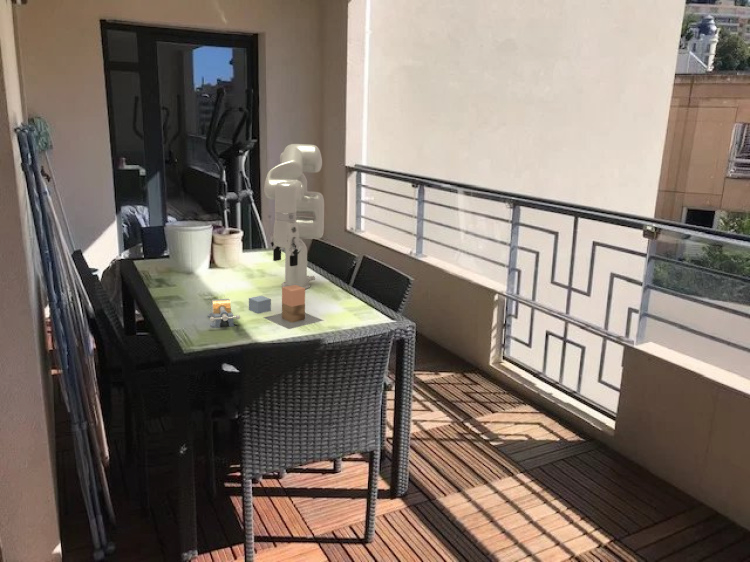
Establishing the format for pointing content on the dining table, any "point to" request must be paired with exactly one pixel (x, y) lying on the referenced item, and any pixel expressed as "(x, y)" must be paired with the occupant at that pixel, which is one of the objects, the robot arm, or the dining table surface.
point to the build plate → (289, 325)
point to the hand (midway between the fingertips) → (285, 263)
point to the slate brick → (259, 304)
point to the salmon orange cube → (293, 295)
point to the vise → (221, 313)
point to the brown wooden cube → (293, 312)
